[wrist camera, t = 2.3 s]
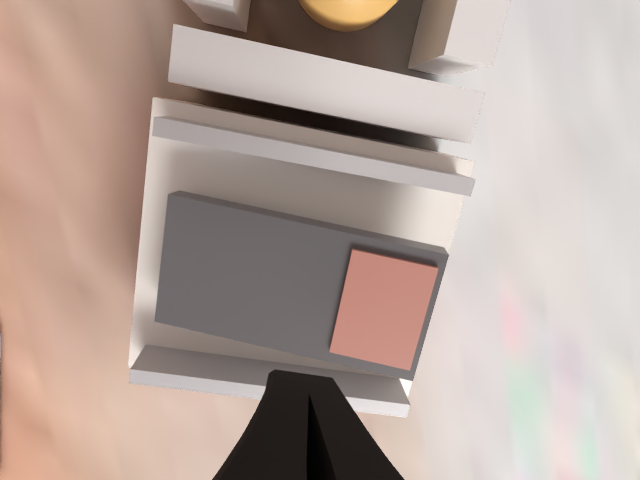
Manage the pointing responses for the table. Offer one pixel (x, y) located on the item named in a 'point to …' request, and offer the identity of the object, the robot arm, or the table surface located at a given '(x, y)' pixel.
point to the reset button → (346, 12)
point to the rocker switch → (297, 284)
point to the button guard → (349, 69)
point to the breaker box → (288, 197)
